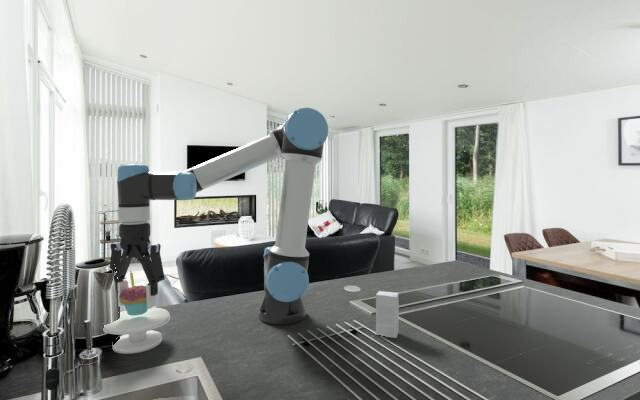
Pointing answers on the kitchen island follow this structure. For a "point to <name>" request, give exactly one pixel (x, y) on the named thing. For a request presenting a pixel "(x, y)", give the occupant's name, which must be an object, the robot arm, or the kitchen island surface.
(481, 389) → the kitchen island surface
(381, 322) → the skincare box
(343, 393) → the kitchen island surface
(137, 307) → the cupcake
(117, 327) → the cake stand
